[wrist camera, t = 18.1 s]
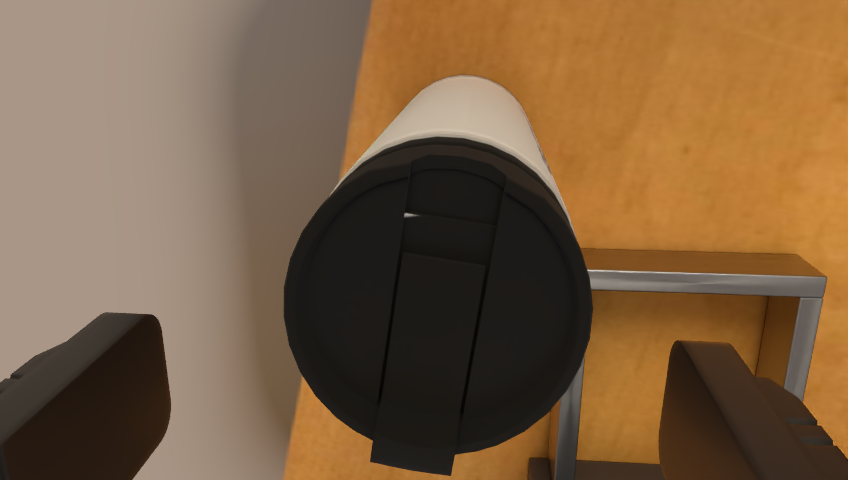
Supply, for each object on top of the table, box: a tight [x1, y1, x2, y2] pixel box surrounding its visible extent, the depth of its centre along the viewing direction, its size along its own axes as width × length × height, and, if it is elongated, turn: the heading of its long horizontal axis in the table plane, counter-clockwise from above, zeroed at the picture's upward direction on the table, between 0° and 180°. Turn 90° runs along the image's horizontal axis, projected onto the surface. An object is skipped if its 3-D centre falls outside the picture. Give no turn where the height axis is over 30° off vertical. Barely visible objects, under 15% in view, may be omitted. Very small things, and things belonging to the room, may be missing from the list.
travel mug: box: [284, 75, 593, 476], centre depth 22 cm, size 6×7×20 cm
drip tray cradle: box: [548, 249, 827, 480], centre depth 27 cm, size 12×11×16 cm
